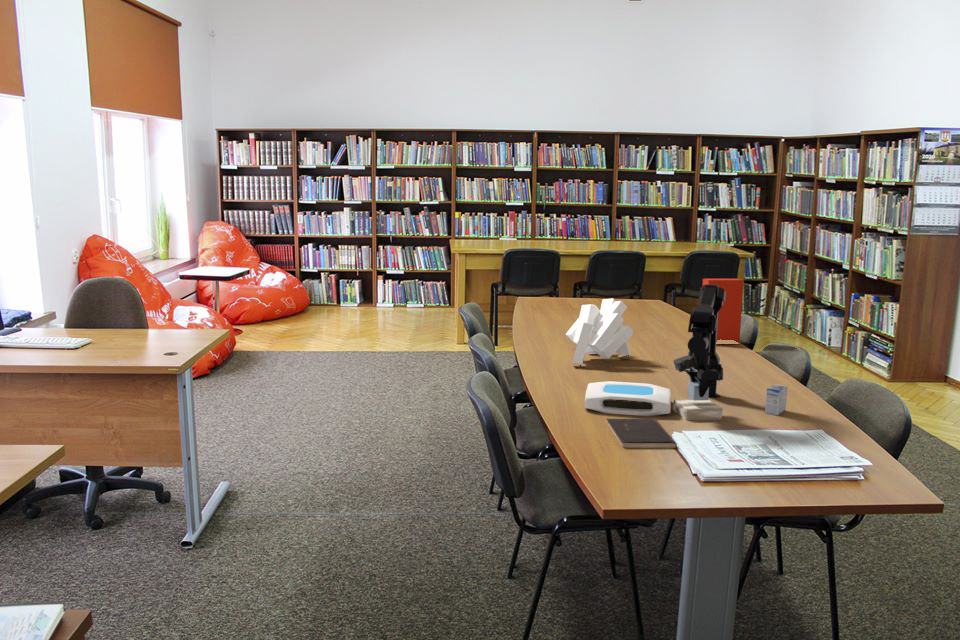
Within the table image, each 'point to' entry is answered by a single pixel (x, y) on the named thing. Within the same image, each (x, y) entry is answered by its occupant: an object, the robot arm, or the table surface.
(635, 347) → the table surface
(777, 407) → the medicine box
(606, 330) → the pile of blocks
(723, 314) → the file binder
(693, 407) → the cream block
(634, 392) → the document scanner
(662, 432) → the hardcover book
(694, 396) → the grey cube
